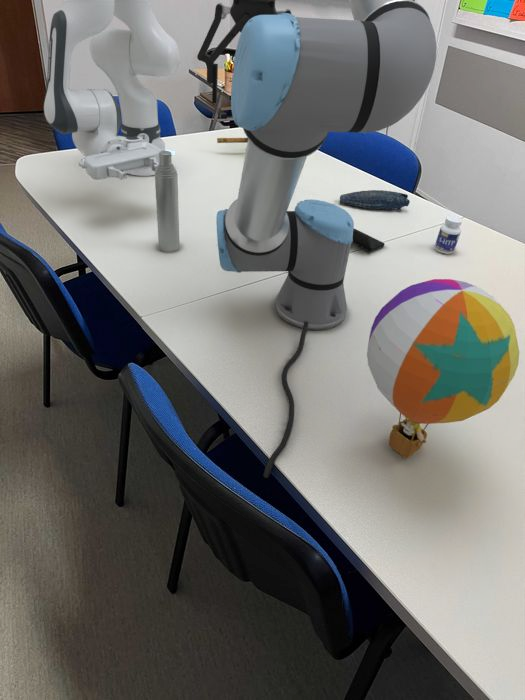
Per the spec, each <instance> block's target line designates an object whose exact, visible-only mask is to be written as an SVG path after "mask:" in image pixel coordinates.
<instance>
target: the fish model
mask: <svg viewBox="0 0 525 700" xmlns="http://www.w3.org/2000/svg"><path fill="white" fill-rule="evenodd" d="M410 202H411V201H410V200H409V195H408V194H406V193H403V192H402V193H401V192H399V191H392V190H382V189H380V190H379V189H377V190H376V189H368V190H360V191H352V192H348V193H344V194H341V195H340V196H339V203H343V204H346V205H349V206H351V207H357V208H362V209H371V210H372V209H374V210H384V211H385V210H386V211H391V210H394V209H397V210H402V208H404V207H408V206H409V205H410Z"/></svg>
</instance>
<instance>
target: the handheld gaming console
mask: <svg viewBox="0 0 525 700" xmlns="http://www.w3.org/2000/svg"><path fill="white" fill-rule="evenodd" d="M351 244H354V245H356V246H358V247H359V248H361V249H363V250H365V251H367V252H368V253H372V252H375V251H377V250H379V249H381V248H384V247H385V243H384V242H383V241H380V240H379V239H378V238H375V237H372V236H370V235H368V234H366V233H365V232H363V231H360V230H359V229H356V228H353V241H352V243H351Z"/></svg>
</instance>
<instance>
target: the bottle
mask: <svg viewBox="0 0 525 700" xmlns="http://www.w3.org/2000/svg"><path fill="white" fill-rule="evenodd" d="M170 151H171V150H169V151H160V152H159V160H160V164H159V165H158V167H157V168H156V170H155V175H154V186H155V188H154V190H155V201H156V202H155V205H156V221H157V223H156V224H157V238H158V239H157V240H158V241H157V242H158V249H159V250H160V251H162V252H163V253H173V252H176V251H178V250H180V215H179V212H180V211H179V183H178V181H179V180H178V179H179V178H178V176H179V175H178V171H177V170H176V167H175V166H174V164H173V163H172V156H173V155H172V153H171V152H170Z"/></svg>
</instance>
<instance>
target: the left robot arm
mask: <svg viewBox="0 0 525 700" xmlns="http://www.w3.org/2000/svg"><path fill="white" fill-rule="evenodd" d="M114 17H115V18H117V20H120V22H122V23H124V25H126V26H127V27H128V29H120V28H108V27H109V25H110V24H111V22H112V21H113V19H114ZM88 38H90V42H89V52H90V53H89V54H90V56H91V58H92V60H93V62H94V63H95V66H97V67H98V68H99V69H100V70H101V71H102V72H103V73H104V74H105V75H106V76H107V78H109V80H110V82H111V83H112V85H113V87H114V89H115V91H116V94H117V97H118V101H117V99H116V97H115V96H114V95H113V94H112V93H111V92H110V91H109V90H108V89H105V88H104V89H103V88H87V89H70V80H71V79H70V78H71V64H72V63H71V62H72V54H73V51H74V50H75V48H76V46H77V45H79V43H81V42H82V41H85V40H86V39H88ZM48 42H49V43H48V58H47V59H48V60H47V75H46V77H47V78H46V88H45V93H44V94H45V95H44V100H43V115H44V118H45V121H46V123H47V124H48V126H50V127H51V128H52V129H54V130H55V131H56V132H58V133H60V134H62V135H68V134H71V139H72V143H73V145H74V146H75V148H76V149H77V151H79V152H80V154H81V155H82V156H84V158H82V159H80V161H78V162H77V165H78V166H79V167H80V168H82V169H84V170H85V172H86V173H87V175H88V176H89V177H90V179H93V180H97V181H100V180H104V179H110V178H115V179H119V180H126V179H128V176H127V175H132V176H139V177H140V176H141V177H146V176H147V177H148V176H155V170H156V168H157V167H158V165H159V164H160V160H159V152H160V151H170V152H171V153H172V156H174V155H176V153H175V152H176V151H173V150H169V149H166V148H167V147H166V142H165V141H164V140H163V139H162V137H161V126H160V123H159V116H158V115H159V113H158V99H157V96H155V94H154V92H153V91H152V90H151V89H149V88H148V87H146V86H145V85H143V83H141V82H140V80H139V77H138V75H139V76H150V77H166V76H172V75H174V74H175V73H176V71H177V70H178V68H179V65H180V62H181V52H180V48H179V46H178V44H177V41H176V40H175V39H174V38H173V36H170V34H168V33H167V32H166V31H165V30H164V29H163V27H162V26H161V25H160V23H159V21H158V20H157V18H156V16H155V13H154V11H153V9H152V6H151V0H62V2H61V4H60V7H59V10H58V11H56V12H54V13H53V14H52V18H51V23H50V30H49V40H48ZM118 102H119V103H118ZM119 131H120V134H121V135H118V134H119Z"/></svg>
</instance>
